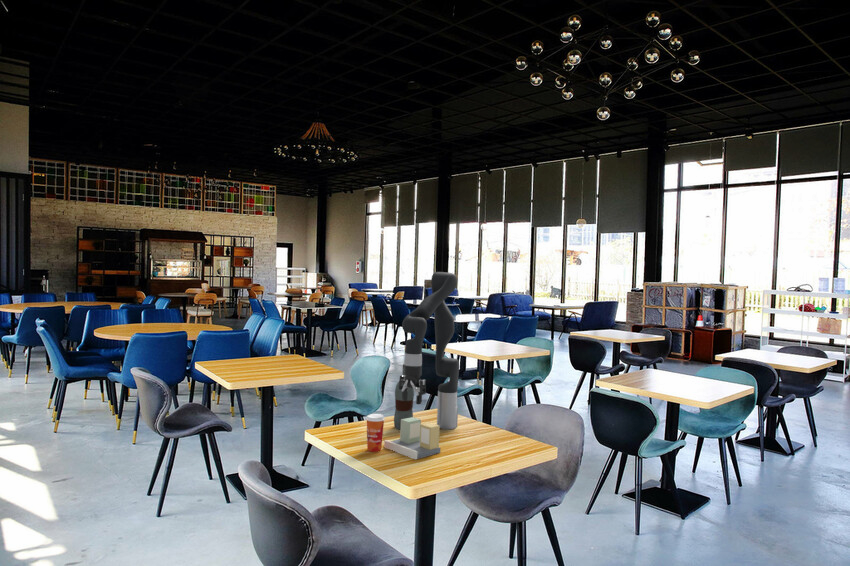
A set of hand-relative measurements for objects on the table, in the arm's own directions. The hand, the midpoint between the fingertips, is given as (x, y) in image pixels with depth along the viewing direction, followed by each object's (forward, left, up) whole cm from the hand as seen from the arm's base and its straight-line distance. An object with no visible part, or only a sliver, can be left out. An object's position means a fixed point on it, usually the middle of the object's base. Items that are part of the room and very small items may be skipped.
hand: (411, 402), depth 228 cm
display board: (+3, +5, -18) cm, 19 cm away
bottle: (-16, -22, -19) cm, 32 cm away
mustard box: (-1, +11, -16) cm, 20 cm away
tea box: (0, 0, -16) cm, 16 cm away
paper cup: (+16, -5, -19) cm, 25 cm away
